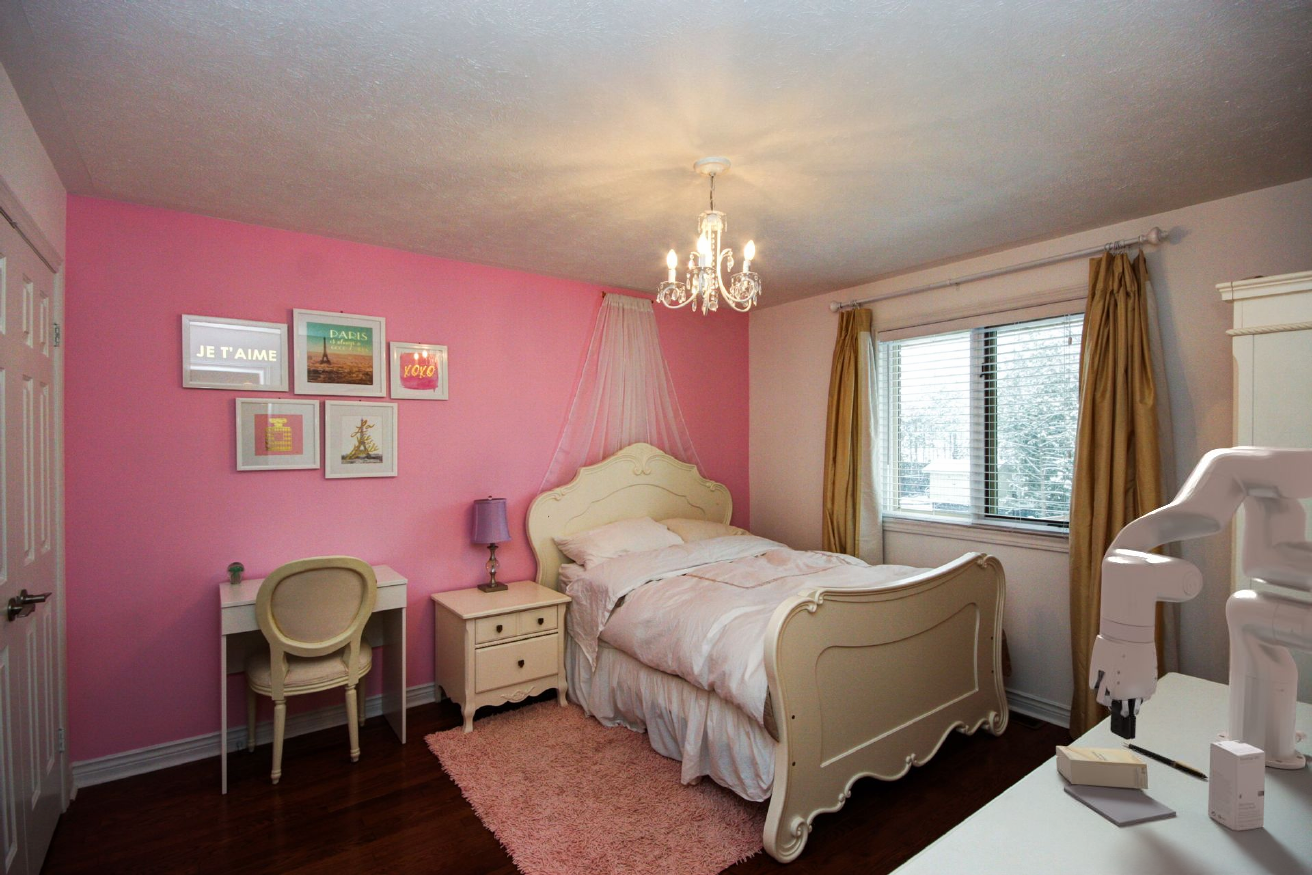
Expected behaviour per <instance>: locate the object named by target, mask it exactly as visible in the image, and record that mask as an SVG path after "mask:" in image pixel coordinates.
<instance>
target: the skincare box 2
mask: <svg viewBox="0 0 1312 875" xmlns="http://www.w3.org/2000/svg"><path fill="white" fill-rule="evenodd" d="M1209 748H1210V749H1209V774H1208V776H1209V777H1208V779H1209V780H1208V782H1209V783H1208V802H1207V803H1208V807H1207V808H1208V809H1207V815H1208V816H1209V817H1211V818H1212V819H1213V820H1215V821H1216V822H1218V823H1220V824H1222V825H1224V826H1225V827H1227V828H1229V829H1230V830H1232V831H1245V830H1252V829H1253V830H1254V829H1257V828H1258V829H1260V828H1262V827H1264V824H1265V823H1264V821H1265V820H1264V819H1265V818H1264V816H1265V814H1264V813H1265V791H1266V790H1265V787H1266V786H1265V783H1266V782H1265V781H1266V778H1265V777H1266V776H1265V775H1266V765H1265V752H1264V751H1262V750H1260V749H1258V748H1255V747H1253V746H1251V745H1248V744H1246V743H1244V742H1241V741H1239V740H1236V741H1221V742H1217V741H1215V742H1210V747H1209Z"/></svg>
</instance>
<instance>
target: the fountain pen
mask: <svg viewBox="0 0 1312 875" xmlns="http://www.w3.org/2000/svg"><path fill="white" fill-rule="evenodd" d="M1122 744H1124V745H1126V746H1128V748H1129V749H1132V750H1134V751H1136V752H1138V753H1141V754H1142V755H1145V756H1147V757H1150V758H1152V759H1154V760H1156V761H1159V762H1162V763H1163V764H1166V765H1169V766H1171V767H1173V768H1174V769H1177V770H1180V771H1182V772H1185V773H1187V774H1189V775H1192V776H1194V777H1197V778H1201V779H1209V777H1208V776H1207V775H1205V773H1204V772H1202V771H1200V770H1198V769H1196V768H1194V767H1192V766H1189V765H1187V764H1185V763H1182V762H1180V761H1178V760H1177V761H1176V760H1173V759H1170V758H1169V757H1166V756H1163V755H1161V754H1159V753H1156V752H1153V751H1150V750H1148V749H1145V748H1144V747H1141V746H1140V747H1139V746H1138V745H1135V744H1132V743H1127V742H1124V741H1122Z"/></svg>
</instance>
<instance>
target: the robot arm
mask: <svg viewBox="0 0 1312 875" xmlns="http://www.w3.org/2000/svg"><path fill="white" fill-rule="evenodd" d="M1311 498H1312V447H1295V446H1294V447H1291V446H1289V447H1288V446H1272V445H1271V446H1270V445H1239V446H1234V447H1227V448H1226V447H1225V448H1222V447H1221V448H1216V449H1213V450H1211V451H1209V452H1207V453H1205V454H1204V455H1203V456H1202V457H1201V458H1200V460H1199V461H1198V463H1197V464H1196V466H1194V469H1193V470H1192V471H1191V473H1190V474H1189V476H1188V477H1187V479H1186V481H1185V482H1184V484H1183V485H1182V486H1181V488H1180V489H1179V491H1177V494H1176V495H1175V497H1174V498H1173V500H1172V501H1171V502H1170V503H1169V504H1167V505H1165V506H1162V507H1159V508H1157V509H1155V510H1153V511H1150V512H1149V513H1147V514H1144V515H1143V516H1140V517H1138V518H1137V519H1134V520H1133V521H1131V522H1130V523H1128V524H1127V525H1126V526H1124V527H1123V528H1122V529H1121V530H1120V531H1119V532H1118V534H1117V535H1116V536H1115V538H1114V540H1113V541H1112V542H1111V544H1110V545H1109V547H1108V548H1107V550H1106V551H1105V555H1104V556H1103V558H1102V562H1101V585H1100V586H1101V590H1100V592H1101V593H1100V617H1099V618H1100V619H1099V634H1097V635H1096V637H1095V641H1094V644H1093V648H1092V653H1091V660H1090V666H1089V677H1088V678H1089V680H1088V681H1089V682H1088V684H1089V686H1088V687H1089V688H1090V690H1092V691H1093V692H1097V696H1096V702H1097V703H1099V704H1100V705H1103V706H1106V707H1108V708H1107V709H1108V710H1110V727H1109V728H1110V732H1111V734H1115V735H1116V736H1119V737H1120V738H1122V739H1124V740H1127V741H1129V740H1134V739H1136V734H1137V733H1136V730H1137V729H1136V728H1137V727H1136V726H1137V716H1138V715H1139V714H1140V711H1141V706H1142V704H1143V703H1145V702H1147V701H1150V699H1151V698H1152V695H1154V694H1156V691H1157V687H1158V656H1157V649H1156V642H1155V629H1156V628H1155V625H1156V603H1157V602H1171V603H1182V602H1183V603H1185V602H1187V601H1188V602H1189V601H1190V600H1192V599H1194V598H1196V597H1197V596H1198V595H1199V593H1200V592H1201V591H1202V588H1203V584H1204V579H1203V575H1202V572H1201V571H1200V569H1199V568H1198V567H1197V566H1196V565H1194V564H1193V563H1191V562H1189V561H1188V560H1185V559H1182V558H1177V557H1173V556H1169V555H1164V554H1158V553H1154V552H1149V551H1151V550H1152V549H1154V548H1156V547H1158V546H1161V545H1164V544H1168V543H1171V542H1176V541H1184V540H1189V539H1190V540H1191V539H1196V538H1202V537H1207V536H1212V535H1216V534H1218V533H1219V534H1220V533H1221V532H1223V531H1224V530H1225V529H1226V528H1227V527H1228V525H1229V523H1230V522H1231V521H1232V519H1233V517H1234V515H1235V514H1236V513H1237V511H1238V509H1239V508H1240V506H1241V505H1242V504H1243V507H1244V526H1243V527H1244V528H1243V538H1242V549H1241V560H1240V561H1241V569H1242V572H1243V574H1244V576H1246V577H1247V578H1248V579H1250V580H1251V581H1255V582H1257V583H1261V584H1265V585H1269V586H1273V587H1276V588H1277V587H1278V588H1282V589H1288V590H1293V591H1298V592H1303V593H1308V594H1311V596H1312V541H1309V540H1307V538H1306V528H1307V527H1306V525H1307V514H1306V510H1305V508H1304V506H1303V504H1302V503H1301V502H1300V501H1299V500H1300V499H1301V500H1302V499H1311ZM1225 617H1226V622H1227V627H1228V634H1229V643H1230V644H1229V645H1230V657H1229V658H1230V659H1229V660H1230V662H1229V667H1230V668H1229V680H1228V681H1229V684H1228V707H1227V708H1228V710H1227V711H1228V712H1227V730H1224V731H1220V732H1219V733H1217V734H1216V742H1221V741H1236V740H1239V741H1241V742H1244V743H1246V744H1248V745H1251V746H1253V747H1255V748H1258V749H1260V750H1262V751H1264V752H1265V767H1266V766H1267V767H1269V768H1270V767H1271V768H1275V769H1276V768H1277V769H1284V770H1298V769H1302V768H1304V767H1305V766H1306V757H1305V756H1304V755H1303V754H1302V753H1301V752H1300V751H1299V750H1297V749H1296V744H1297V743H1299V742H1300V743H1301V742H1304V741H1305V742H1306V740H1307V739H1308V737H1307V734H1306V732H1304V731H1302V730H1297V729H1296V719H1297V716H1296V715H1297V700H1298V699H1297V698H1298V697H1297V696H1298V695H1297V694H1298V681H1299V672H1298V667H1297V664H1296V662H1295V660H1294V658H1293V657H1292V655H1291V653H1290V652H1289V650H1288V649H1292V650H1296V651H1298V652H1303V653H1306V654H1310V655H1312V600H1308V599H1303V598H1299V597H1295V596H1291V595H1286V594H1282V593H1276V592H1272V591H1266V590H1260V589H1250V588H1249V589H1241V590H1237V591H1235V592H1233V593H1231V594H1230V596H1229V597H1228V599H1227V600H1226V603H1225Z"/></svg>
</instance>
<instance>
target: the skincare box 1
mask: <svg viewBox="0 0 1312 875" xmlns="http://www.w3.org/2000/svg"><path fill="white" fill-rule="evenodd" d="M1055 752H1056V753H1055V755H1056V756H1058V757H1057V758H1056V770H1058V772H1059V773H1060V774H1062V776H1063V777H1064V778H1065V779H1066V780H1067V781H1069V782H1070V784H1072V785H1095V786H1109V787H1124V788H1135V789H1137V790H1140V789H1142V790H1143V789H1144V790H1148V789H1149V779H1148V778H1149V777H1148V776H1149V774H1148V766H1147V763H1146V762H1144V761H1143V760H1142V759H1141V758H1139V757H1138V756H1137V755H1135V754H1134V753H1132V751H1130V750H1129V749H1117V748H1100V747H1082V746H1080V747H1079V746H1063V745H1056V746H1055Z"/></svg>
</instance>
